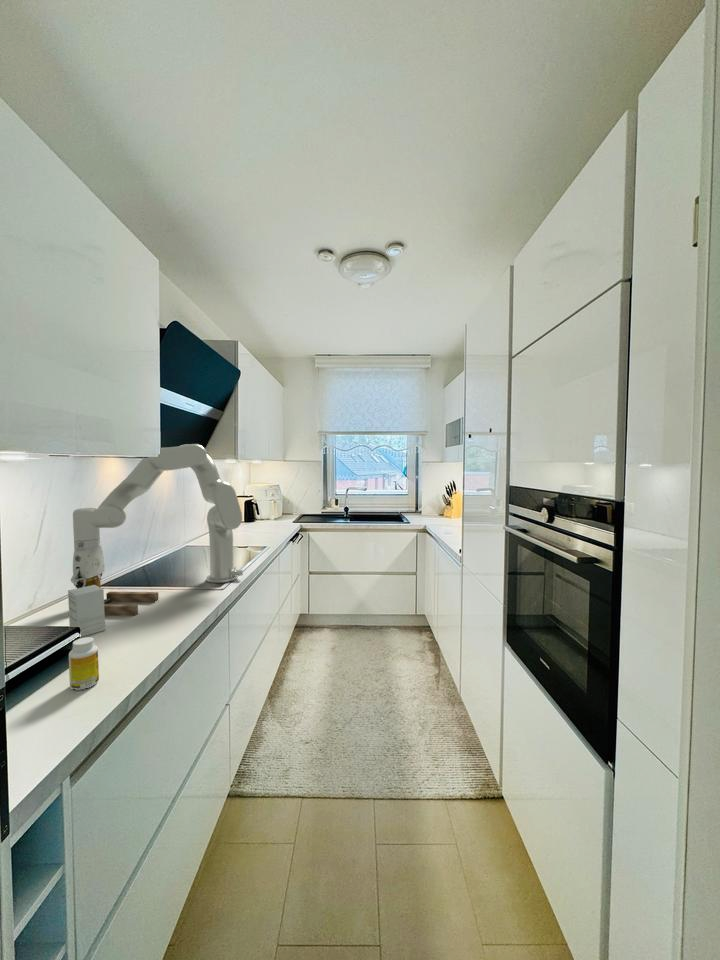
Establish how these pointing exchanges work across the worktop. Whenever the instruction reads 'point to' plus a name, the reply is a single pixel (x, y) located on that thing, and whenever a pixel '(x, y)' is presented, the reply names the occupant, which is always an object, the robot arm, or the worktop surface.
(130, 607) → the channel
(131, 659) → the worktop surface
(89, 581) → the yellow and black cylinder
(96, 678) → the supplement bottle
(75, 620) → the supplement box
